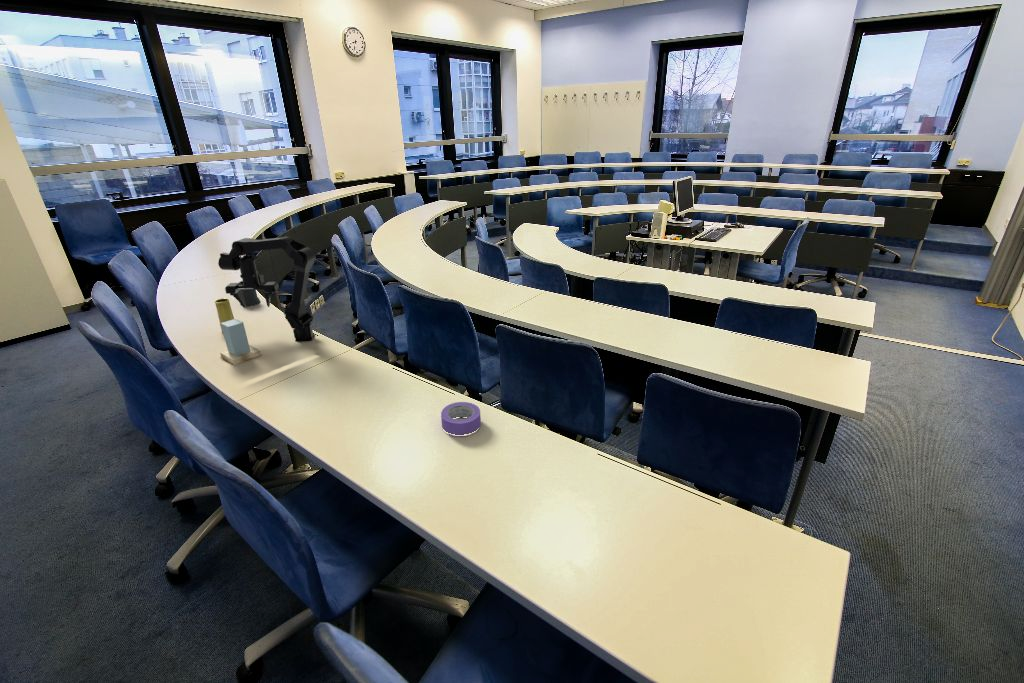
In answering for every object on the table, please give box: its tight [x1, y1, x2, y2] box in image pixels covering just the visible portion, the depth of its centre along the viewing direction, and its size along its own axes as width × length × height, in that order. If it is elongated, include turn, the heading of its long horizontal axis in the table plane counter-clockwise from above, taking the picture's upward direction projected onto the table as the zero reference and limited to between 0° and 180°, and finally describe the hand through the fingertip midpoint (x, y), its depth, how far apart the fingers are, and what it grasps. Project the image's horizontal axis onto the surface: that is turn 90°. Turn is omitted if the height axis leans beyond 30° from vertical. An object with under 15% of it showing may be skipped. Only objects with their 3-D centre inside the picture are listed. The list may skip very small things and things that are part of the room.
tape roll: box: [440, 401, 482, 435], centre depth 141 cm, size 12×12×5 cm
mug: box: [238, 280, 261, 307], centre depth 234 cm, size 12×9×11 cm
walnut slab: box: [219, 353, 263, 366], centre depth 179 cm, size 11×11×2 cm
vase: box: [214, 297, 235, 334], centre depth 200 cm, size 6×6×14 cm
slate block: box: [220, 318, 250, 356], centre depth 175 cm, size 6×6×12 cm
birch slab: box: [219, 344, 261, 366], centre depth 179 cm, size 10×10×2 cm
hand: (256, 307), depth 194 cm, fingers open, 9 cm apart
